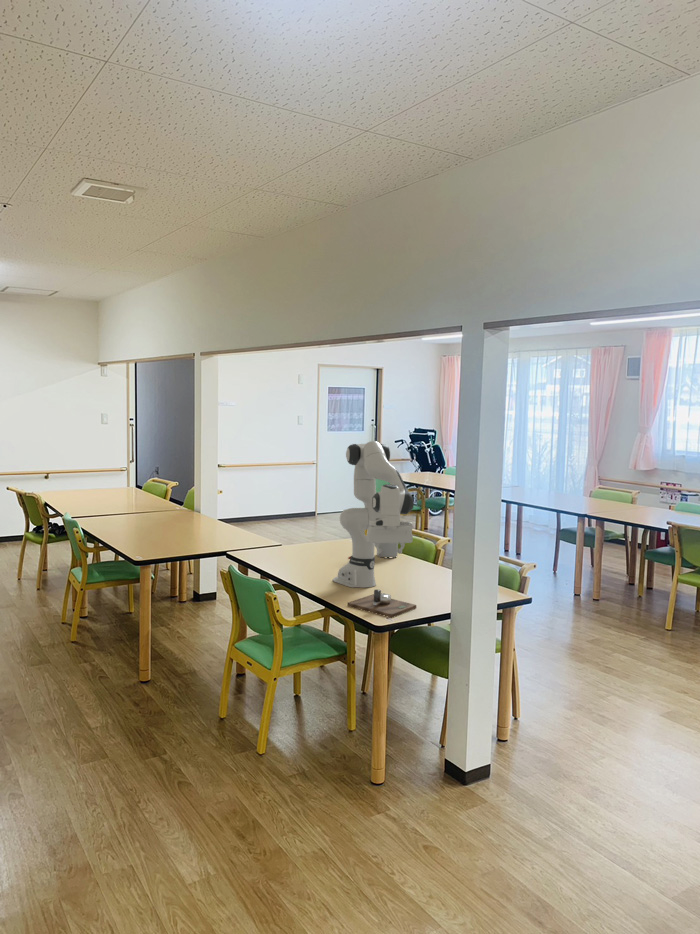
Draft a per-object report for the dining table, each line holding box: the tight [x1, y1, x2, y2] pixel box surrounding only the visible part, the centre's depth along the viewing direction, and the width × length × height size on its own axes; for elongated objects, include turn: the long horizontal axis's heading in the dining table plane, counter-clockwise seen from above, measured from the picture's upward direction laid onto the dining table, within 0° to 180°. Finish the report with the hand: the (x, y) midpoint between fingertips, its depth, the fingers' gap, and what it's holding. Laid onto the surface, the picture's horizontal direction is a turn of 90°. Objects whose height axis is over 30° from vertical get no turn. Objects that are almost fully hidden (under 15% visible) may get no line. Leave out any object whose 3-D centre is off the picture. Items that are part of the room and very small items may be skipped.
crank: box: [373, 589, 392, 605], centre depth 310 cm, size 14×7×7 cm, turn 157°
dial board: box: [347, 593, 417, 619], centre depth 311 cm, size 24×20×2 cm
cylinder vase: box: [376, 543, 399, 558], centre depth 415 cm, size 12×12×25 cm
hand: (389, 553), depth 299 cm, fingers open, 8 cm apart
